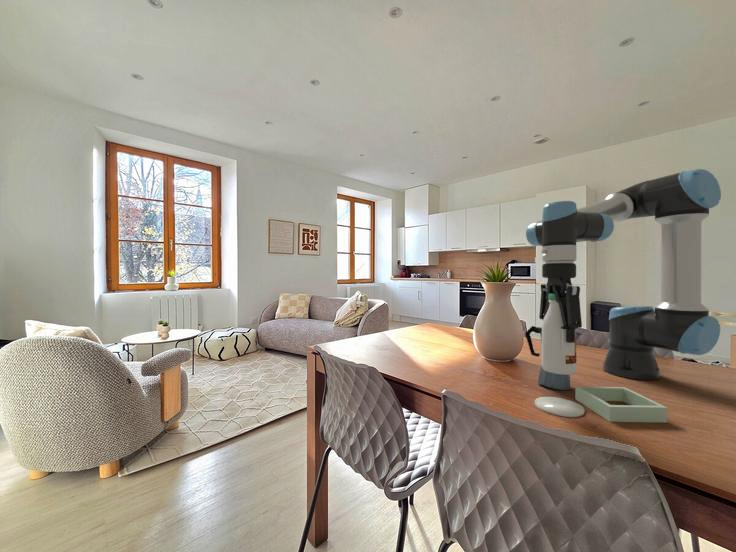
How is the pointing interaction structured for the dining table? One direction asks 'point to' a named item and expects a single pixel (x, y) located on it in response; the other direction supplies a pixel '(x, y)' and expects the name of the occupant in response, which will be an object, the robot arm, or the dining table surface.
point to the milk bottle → (555, 342)
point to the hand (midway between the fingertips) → (558, 350)
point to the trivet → (559, 406)
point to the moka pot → (546, 377)
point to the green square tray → (634, 412)
